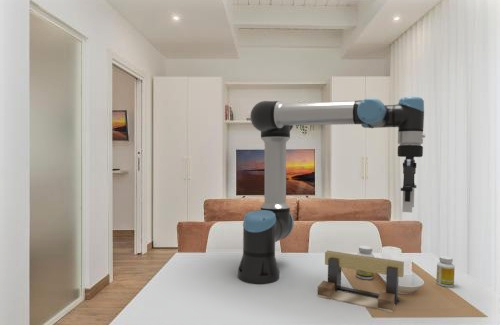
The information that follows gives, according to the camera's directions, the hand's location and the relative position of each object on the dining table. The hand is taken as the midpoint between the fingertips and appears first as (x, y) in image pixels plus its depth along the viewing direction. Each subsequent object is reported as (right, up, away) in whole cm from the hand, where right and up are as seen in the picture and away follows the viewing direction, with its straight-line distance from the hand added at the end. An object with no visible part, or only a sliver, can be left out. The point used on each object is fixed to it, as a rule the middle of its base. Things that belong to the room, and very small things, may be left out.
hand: (408, 209), depth 113 cm
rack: (-16, -27, -2) cm, 32 cm away
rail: (-16, -19, -2) cm, 25 cm away
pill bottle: (-10, -27, +14) cm, 32 cm away
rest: (-20, -27, -7) cm, 34 cm away
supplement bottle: (+16, -28, +7) cm, 33 cm away
